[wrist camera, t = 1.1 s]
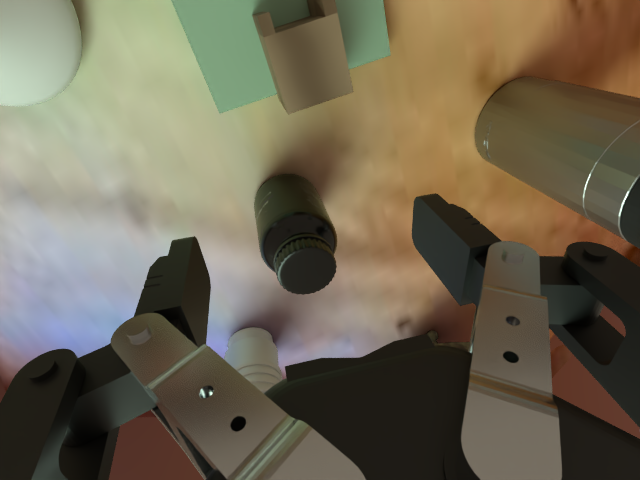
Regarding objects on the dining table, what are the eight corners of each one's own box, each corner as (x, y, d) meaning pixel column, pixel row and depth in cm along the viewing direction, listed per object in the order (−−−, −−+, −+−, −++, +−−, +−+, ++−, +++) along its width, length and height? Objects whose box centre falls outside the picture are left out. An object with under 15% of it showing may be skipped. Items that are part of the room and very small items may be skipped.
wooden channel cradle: (316, -7, 26) (333, -10, 22) (335, 80, 30) (353, 91, 26) (251, 15, 26) (257, 16, 22) (279, 99, 30) (288, 114, 26)
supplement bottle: (244, 181, 35) (253, 247, 25) (311, 164, 36) (344, 222, 26) (262, 237, 39) (275, 313, 29) (322, 221, 40) (354, 290, 30)
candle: (213, 338, 46) (209, 460, 33) (262, 317, 45) (277, 430, 33) (238, 367, 49) (243, 486, 37) (284, 347, 49) (304, 459, 37)
